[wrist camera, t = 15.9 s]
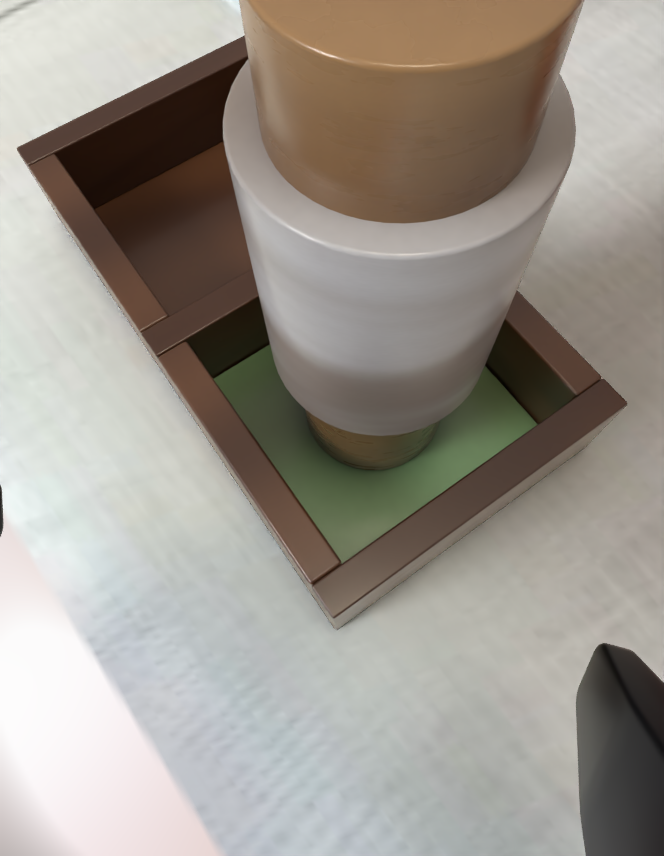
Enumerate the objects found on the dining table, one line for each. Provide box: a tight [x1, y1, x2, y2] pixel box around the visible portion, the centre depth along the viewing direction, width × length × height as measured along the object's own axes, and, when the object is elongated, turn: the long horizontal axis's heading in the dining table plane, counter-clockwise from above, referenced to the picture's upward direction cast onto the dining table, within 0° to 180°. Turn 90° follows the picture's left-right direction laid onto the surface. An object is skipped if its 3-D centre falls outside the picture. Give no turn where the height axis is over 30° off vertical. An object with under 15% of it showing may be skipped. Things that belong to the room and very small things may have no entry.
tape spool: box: [223, 0, 584, 470], centre depth 14 cm, size 6×6×14 cm
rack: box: [17, 36, 627, 630], centre depth 21 cm, size 19×10×4 cm, turn 35°
